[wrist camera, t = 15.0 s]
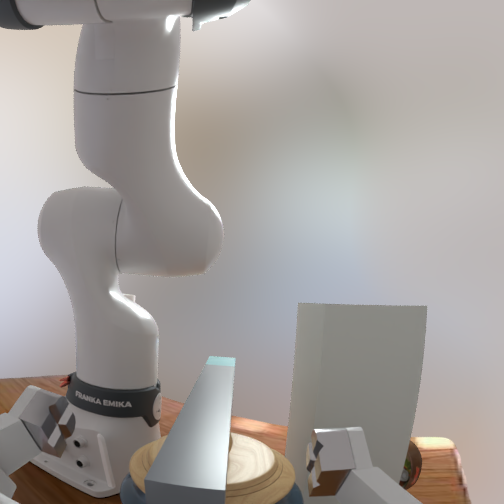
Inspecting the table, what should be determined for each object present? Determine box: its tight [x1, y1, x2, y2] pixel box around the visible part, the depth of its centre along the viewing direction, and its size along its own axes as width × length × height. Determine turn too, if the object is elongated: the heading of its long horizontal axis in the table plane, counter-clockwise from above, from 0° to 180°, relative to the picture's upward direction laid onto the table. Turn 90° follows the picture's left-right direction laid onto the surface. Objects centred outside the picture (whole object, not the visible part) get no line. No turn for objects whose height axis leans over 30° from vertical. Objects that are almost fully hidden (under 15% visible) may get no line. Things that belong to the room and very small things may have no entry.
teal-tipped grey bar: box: [144, 356, 235, 504], centre depth 19 cm, size 2×23×2 cm, turn 2°
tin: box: [399, 441, 422, 490], centre depth 35 cm, size 15×3×8 cm, turn 20°
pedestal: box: [285, 303, 427, 504], centre depth 32 cm, size 10×16×26 cm, turn 0°
